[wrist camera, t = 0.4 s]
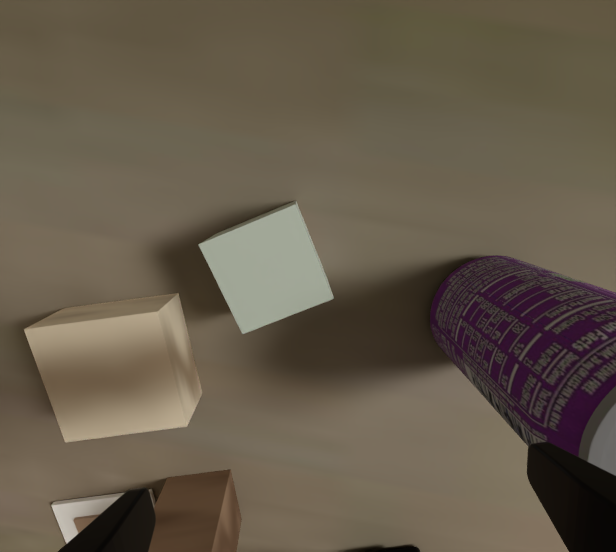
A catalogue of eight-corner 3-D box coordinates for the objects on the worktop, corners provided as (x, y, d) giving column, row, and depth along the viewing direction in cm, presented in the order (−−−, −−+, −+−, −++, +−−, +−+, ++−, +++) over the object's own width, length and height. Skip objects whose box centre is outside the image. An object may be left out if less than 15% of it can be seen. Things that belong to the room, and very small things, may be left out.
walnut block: (241, 518, 25) (225, 616, 20) (181, 526, 25) (147, 627, 20) (230, 468, 24) (210, 557, 19) (167, 477, 24) (127, 568, 19)
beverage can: (516, 365, 23) (741, 550, 11) (413, 351, 22) (539, 528, 11) (552, 262, 21) (861, 356, 10) (441, 244, 21) (627, 319, 9)
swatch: (173, 562, 26) (171, 569, 26) (82, 574, 26) (78, 581, 26) (151, 488, 24) (149, 495, 24) (54, 501, 24) (49, 508, 24)
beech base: (203, 390, 23) (187, 426, 20) (99, 404, 23) (65, 442, 20) (179, 291, 21) (157, 311, 18) (67, 306, 21) (23, 329, 18)
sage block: (327, 277, 21) (333, 298, 17) (252, 307, 21) (242, 334, 18) (295, 200, 20) (295, 204, 16) (217, 233, 20) (198, 244, 16)
